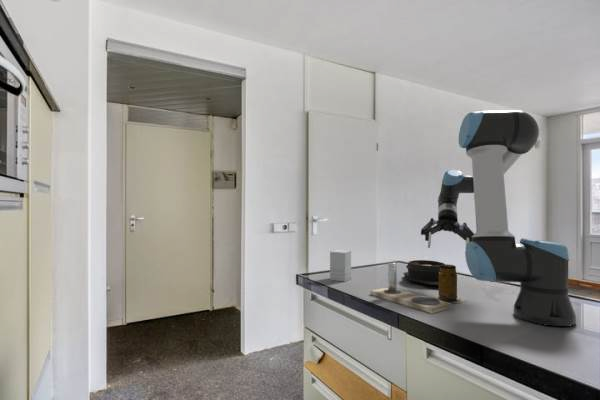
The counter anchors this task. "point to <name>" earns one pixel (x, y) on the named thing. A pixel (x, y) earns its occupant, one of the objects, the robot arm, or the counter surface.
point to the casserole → (423, 272)
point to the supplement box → (340, 265)
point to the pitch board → (412, 300)
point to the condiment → (448, 284)
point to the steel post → (392, 277)
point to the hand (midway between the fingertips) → (448, 248)
